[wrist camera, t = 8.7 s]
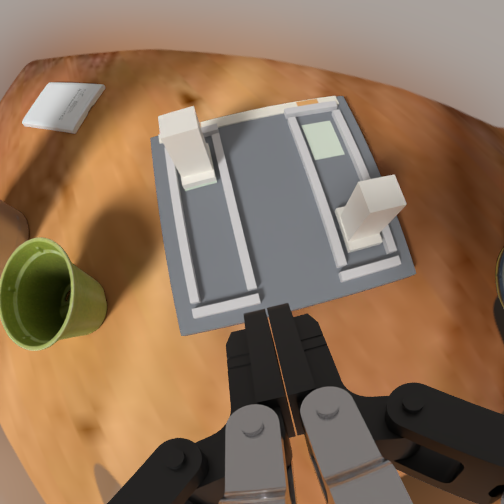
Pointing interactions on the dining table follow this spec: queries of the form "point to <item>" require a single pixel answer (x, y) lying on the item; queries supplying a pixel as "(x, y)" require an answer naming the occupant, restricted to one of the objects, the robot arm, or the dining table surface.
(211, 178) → the tab
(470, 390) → the dining table surface
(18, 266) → the plant pot
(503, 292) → the apothecary jar
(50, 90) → the external hard drive
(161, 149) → the switch board
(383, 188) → the tab
